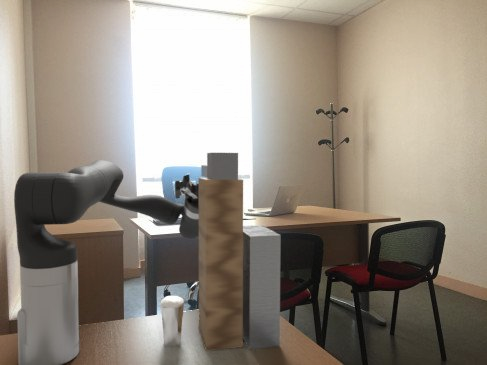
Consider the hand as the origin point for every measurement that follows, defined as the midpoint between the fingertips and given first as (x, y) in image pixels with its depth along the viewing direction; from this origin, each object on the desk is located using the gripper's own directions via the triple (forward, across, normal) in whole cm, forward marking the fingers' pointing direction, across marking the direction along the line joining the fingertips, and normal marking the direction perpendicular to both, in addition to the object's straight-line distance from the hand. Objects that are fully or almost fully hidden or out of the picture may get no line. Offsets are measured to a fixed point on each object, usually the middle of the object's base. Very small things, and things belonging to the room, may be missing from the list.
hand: (205, 176), depth 100 cm
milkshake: (+5, -10, +39) cm, 40 cm away
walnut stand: (+4, -1, +38) cm, 39 cm away
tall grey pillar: (+5, +7, +39) cm, 40 cm away
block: (+16, -1, +8) cm, 18 cm away
